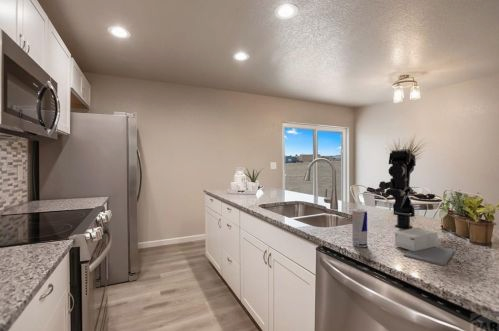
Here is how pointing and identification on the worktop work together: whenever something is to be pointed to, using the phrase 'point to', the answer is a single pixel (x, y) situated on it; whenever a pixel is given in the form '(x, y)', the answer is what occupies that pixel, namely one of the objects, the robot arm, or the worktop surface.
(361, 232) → the beverage can
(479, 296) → the worktop surface
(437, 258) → the mat
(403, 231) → the skincare box
